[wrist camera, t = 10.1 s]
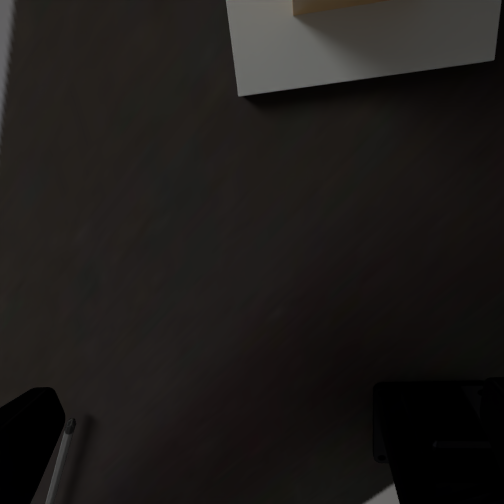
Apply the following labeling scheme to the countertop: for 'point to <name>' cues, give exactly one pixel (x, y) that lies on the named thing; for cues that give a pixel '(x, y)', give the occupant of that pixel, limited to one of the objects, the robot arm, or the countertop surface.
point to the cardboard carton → (325, 5)
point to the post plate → (355, 41)
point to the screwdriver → (61, 460)
